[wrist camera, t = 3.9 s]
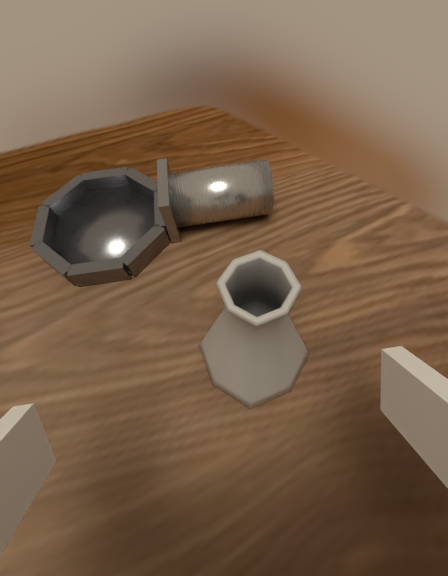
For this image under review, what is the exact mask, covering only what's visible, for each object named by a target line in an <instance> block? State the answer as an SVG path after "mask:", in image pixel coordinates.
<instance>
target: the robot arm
mask: <svg viewBox="0 0 448 576" xmlns="http://www.w3.org/2000/svg"><path fill="white" fill-rule="evenodd" d="M380 410H381V411H382V412H383V414H384V415H385V416H386V417H387V418H388V419H389V421H390V422H391V423H392V424H393V425H394V426H395V428H396V429H397V430H398V431H399V432H400V433H401V435H402V436H403V437H404V438H405V439H406V440H407V442H408V443H409V444H410V445H411V446H412V447H413V449H414V450H415V451H416V452H417V453H418V454H419V456H420V457H421V458H422V459H423V460H424V461H425V463H426V464H427V465H428V466H429V467H430V468H431V470H432V471H433V472H434V473H435V474H436V475H437V477H438V478H439V479H440V480H441V481H442V482H443V484H444V485H445V486H446V487H447V488H448V379H447V378H445V377H444V376H442V375H441V374H440V373H438V372H437V371H435V370H434V369H433V368H431V367H430V366H428V365H427V364H426V363H424V362H423V361H421V360H420V359H419V358H417V357H416V356H414V355H413V354H412V353H410V352H409V351H407V350H406V349H405V348H403V347H402V346H399V347H392V348H386V349H381V409H380ZM55 463H56V460H55V457H54V455H53V452H52V450H51V447H50V444H49V442H48V439H47V437H46V434H45V431H44V429H43V426H42V424H41V421H40V418H39V416H38V413H37V411H36V408H35V405H34V403H33V404H27V405H20V406H14V407H12V408H11V409H10V410H9V411H8V412H7V413H6V414H5V415H4V416H3V417H2V418H1V419H0V556H1V554H2V553H3V551H4V549H5V548H6V546H7V544H8V542H9V541H10V539H11V537H12V536H13V534H14V532H15V531H16V529H17V527H18V526H19V524H20V522H21V520H22V519H23V517H24V515H25V514H26V512H27V510H28V509H29V507H30V505H31V504H32V502H33V500H34V498H35V497H36V495H37V493H38V492H39V490H40V488H41V487H42V485H43V483H44V482H45V480H46V478H47V476H48V475H49V473H50V471H51V470H52V468H53V466H54V465H55Z"/></svg>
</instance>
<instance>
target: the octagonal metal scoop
mask: <svg viewBox="0 0 448 576" xmlns="http://www.w3.org/2000/svg"><path fill="white" fill-rule="evenodd" d="M157 177H158V182H156V181H154V180H153V179H151V178H149V177H147V176H145V175H144V174H142V173H140V172H138V171H136V170H135V169H133V168H131V167H130V168H129V169H128V168H127V167H122V168H115V169H108V170H101V171H94V172H87V173H82V177H81V176H79V175H77V176H76V177H75V178H73V179H72V180H71V181H70V182H68V183H67V184H66V185H64V186H63V187H62V188H60V189H59V190H58V191H56V192H55V193H54V194H52V195H51V196H50V197H49V198H47V199H46V200H45V201H43V202H42V203H41V204H42V205H43V206H39V208H38V212H37V216H36V221H35V225H34V229H33V234H32V238H31V242H30V246H31V247H32V248H31V249H32V250H33V251H34V252H35V253H36V254H38V255H39V256H40V257H41V258H42V259H43V260H44V261H46V262H47V263H48V264H49V265H50V266H52V267H53V268H54V269H55V270H56V271H58V272H59V273H60V274H61V275H62V276H64V277H65V278H66V279H67V280H68V281H70V282H71V283H72V284H73V285H74V286H75V285H78V286H79V287H81V286H88V285H95V284H102V283H109V282H116V281H123V280H130V279H131V275H133V276H134V277H136V276H137V275H138V274H139V273H140V272H141V271H142V270H143V269H144V268H145V267H146V266H147V265H148V264H149V263H150V262H151V261H152V260H153V259H154V258H155V257H156V256H157V255H158V254H159V253H160V252H161V251H162V250H163V249H164V248H165V247H166V246H167V245H168V244H169V243H170V240H169V239H171V242H172V243H174V242H181V235H180V227H185V226H192V225H199V224H206V223H213V222H220V221H227V220H233V219H240V218H247V217H254V216H261V215H268V214H271V213H272V209H273V183H272V176H271V170H270V166H269V163H268V161H267V160H259V161H252V162H245V163H238V164H231V165H224V166H217V167H210V168H203V169H197V170H190V171H183V172H176V173H171V172H170V169H169V165H168V162H167V158H166V159H159V160H157Z"/></svg>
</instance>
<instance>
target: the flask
mask: <svg viewBox="0 0 448 576" xmlns="http://www.w3.org/2000/svg"><path fill="white" fill-rule="evenodd" d="M216 285H217V287H218V290H219V292H220V294H221V297H222V299H223V301H224V304H225V306H226V307H225V309H224V310H223V311H222V312H221V313H220V315H219V316H218V318H217V319H216V321H215V322H214V324H213V325H212V327H211V328H210V330H209V331H208V333H207V334H206V336H205V337H204V339H203V340H202V342H201V343H200V345H199V347H200V350H201V353H202V356H203V359H204V362H205V364H206V367H207V370H208V373H209V376H210V379H211V381H212V384H213V385H214V386H216V387H217V388H219V389H220V390H222V391H223V392H225V393H226V394H228V395H229V396H231V397H232V398H234V399H236V400H237V401H239V402H240V403H242V404H243V405H245V406H246V407H248V408H249V409H251V408H253V407H256V406H258V405H260V404H263V403H265V402H267V401H270V400H272V399H274V398H277V397H279V396H281V395H284V394H286V393H288V392H291V390H292V388H293V386H294V384H295V382H296V380H297V378H298V376H299V374H300V372H301V370H302V367H303V365H304V363H305V361H306V359H307V357H308V355H309V353H308V351H307V349H306V347H305V345H304V343H303V341H302V340H301V338H300V336H299V334H298V332H297V330H296V328H295V326H294V325H293V323H292V321H291V319H290V317H289V314H288V312H289V310H290V309H291V307H292V305H293V303H294V301H295V300H296V298H297V296H298V294H299V293H300V291H301V288H302V287H301V285H300V283H299V282H298V280H297V278H296V276H295V275H294V273H293V271H292V270H291V268H290V266H289V265H288V263H287V262H286V261H284V260H281V259H279V258H277V257H275V256H273V255H270V254H268V253H266V252H264V251H262V250H258V251H255V252H252V253H250V254H247V255H244V256H241V257H239V258H236V259H233V260H232V261H231V263H230V264H229V265H228V267H227V268H226V270H225V271H224V272H223V274H222V275H221V277H220V278H219V280H218V281H217V282H216Z"/></svg>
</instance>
